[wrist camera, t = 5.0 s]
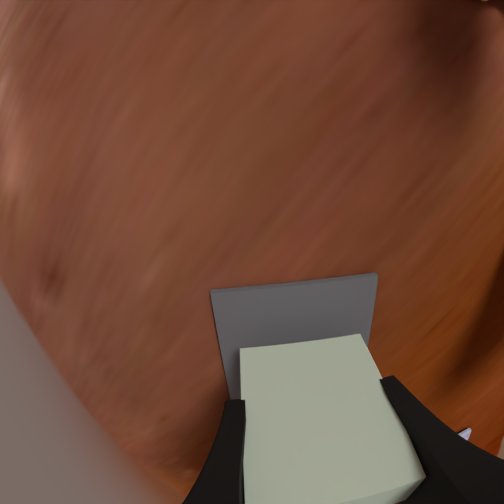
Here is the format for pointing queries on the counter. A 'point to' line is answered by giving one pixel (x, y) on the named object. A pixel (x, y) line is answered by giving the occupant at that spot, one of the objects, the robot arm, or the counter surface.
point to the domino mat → (290, 315)
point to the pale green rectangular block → (322, 427)
